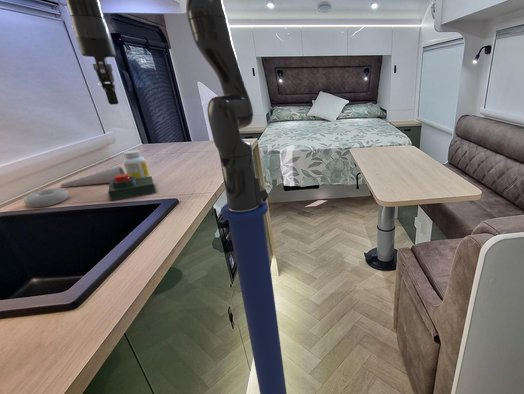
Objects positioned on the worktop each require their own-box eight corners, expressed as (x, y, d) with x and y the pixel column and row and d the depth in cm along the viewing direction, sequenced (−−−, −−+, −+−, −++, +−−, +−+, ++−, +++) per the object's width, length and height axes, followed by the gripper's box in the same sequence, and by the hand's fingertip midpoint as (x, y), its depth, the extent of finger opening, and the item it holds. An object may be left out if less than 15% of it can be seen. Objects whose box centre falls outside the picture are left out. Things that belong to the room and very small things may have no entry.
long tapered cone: (49, 180, 97) (117, 167, 104) (57, 177, 103) (121, 165, 110) (57, 196, 99) (123, 182, 106) (65, 192, 105) (127, 179, 112)
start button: (130, 177, 99) (128, 172, 98) (130, 181, 96) (128, 176, 95) (115, 180, 96) (113, 175, 96) (115, 183, 93) (113, 178, 93)
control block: (153, 184, 106) (150, 171, 104) (155, 192, 98) (151, 178, 96) (112, 191, 99) (108, 177, 98) (111, 200, 92) (106, 186, 90)
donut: (33, 212, 85) (75, 199, 93) (27, 201, 83) (71, 189, 91) (21, 204, 89) (63, 193, 97) (16, 194, 88) (59, 184, 96)
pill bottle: (149, 178, 112) (141, 148, 108) (152, 182, 108) (143, 151, 103) (129, 181, 109) (119, 151, 104) (130, 186, 104) (120, 154, 99)
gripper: (79, 38, 81) (99, 103, 88) (71, 33, 71) (95, 106, 78) (112, 40, 85) (129, 102, 92) (110, 35, 75) (129, 105, 82)
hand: (114, 104), depth 85 cm, fingers closed
